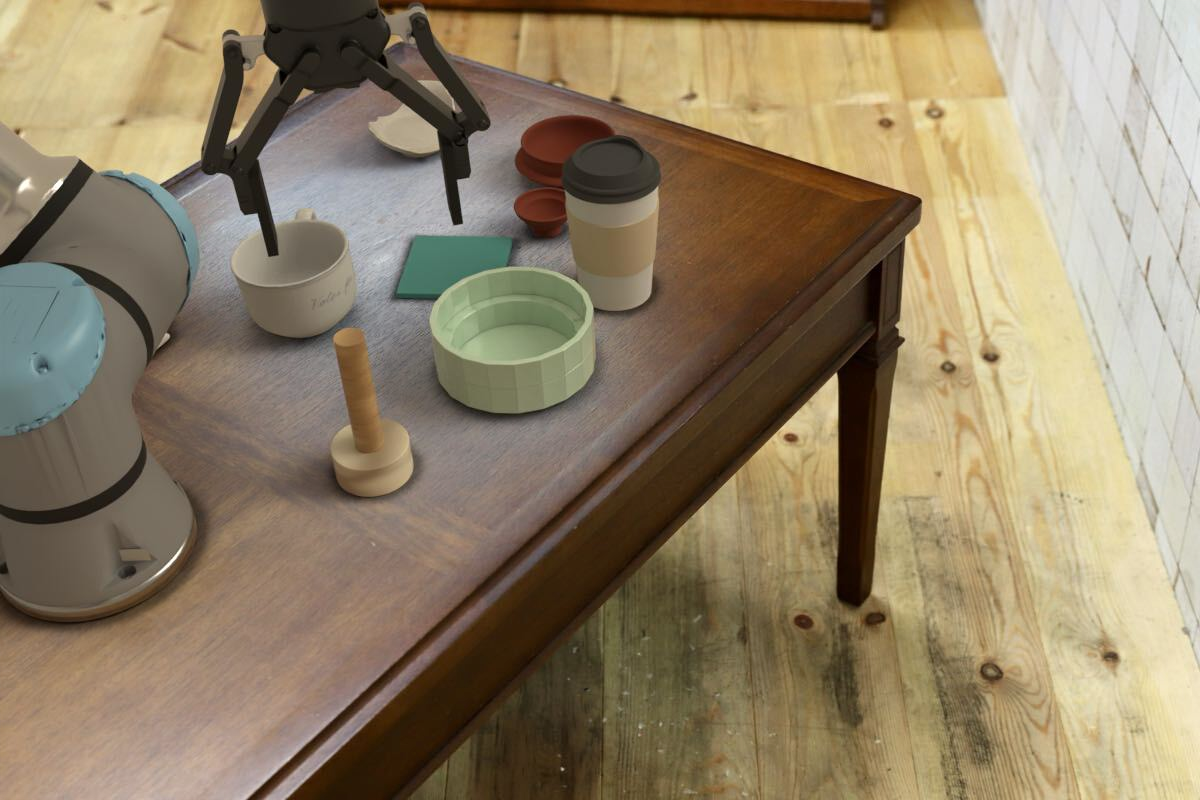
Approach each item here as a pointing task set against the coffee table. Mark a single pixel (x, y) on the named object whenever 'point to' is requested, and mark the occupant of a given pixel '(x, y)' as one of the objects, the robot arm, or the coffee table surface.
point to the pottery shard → (410, 127)
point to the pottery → (551, 167)
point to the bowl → (513, 339)
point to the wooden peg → (366, 428)
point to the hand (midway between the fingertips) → (365, 231)
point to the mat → (449, 262)
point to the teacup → (297, 277)
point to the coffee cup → (613, 219)
